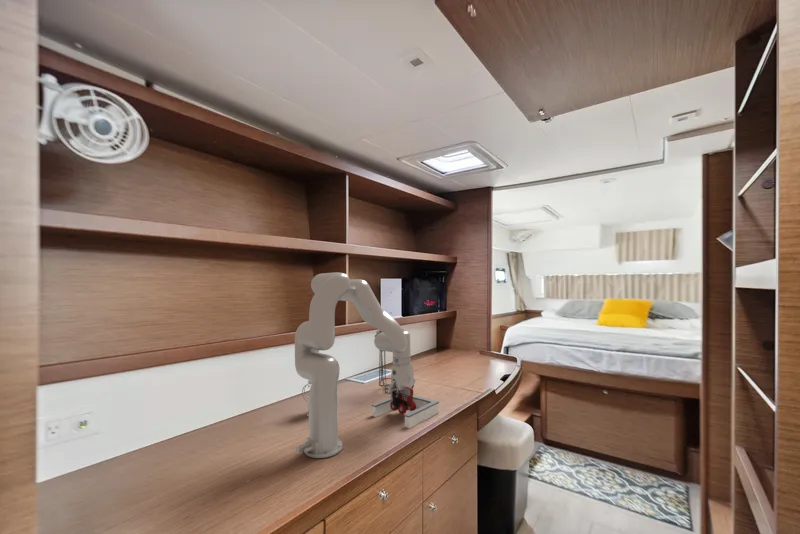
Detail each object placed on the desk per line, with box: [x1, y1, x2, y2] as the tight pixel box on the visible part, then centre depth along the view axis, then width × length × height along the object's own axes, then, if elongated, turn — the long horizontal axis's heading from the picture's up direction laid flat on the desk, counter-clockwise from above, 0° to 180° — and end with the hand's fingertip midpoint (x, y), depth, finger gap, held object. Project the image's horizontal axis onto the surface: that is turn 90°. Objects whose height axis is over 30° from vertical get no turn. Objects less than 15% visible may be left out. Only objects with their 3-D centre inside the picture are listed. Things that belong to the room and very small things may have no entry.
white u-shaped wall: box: [371, 394, 440, 429], centre depth 146 cm, size 20×20×5 cm
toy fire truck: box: [390, 387, 417, 415], centre depth 145 cm, size 7×12×10 cm, turn 41°
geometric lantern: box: [374, 328, 406, 394], centre depth 178 cm, size 16×16×35 cm
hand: (402, 403), depth 145 cm, fingers closed on toy fire truck, 7 cm apart
